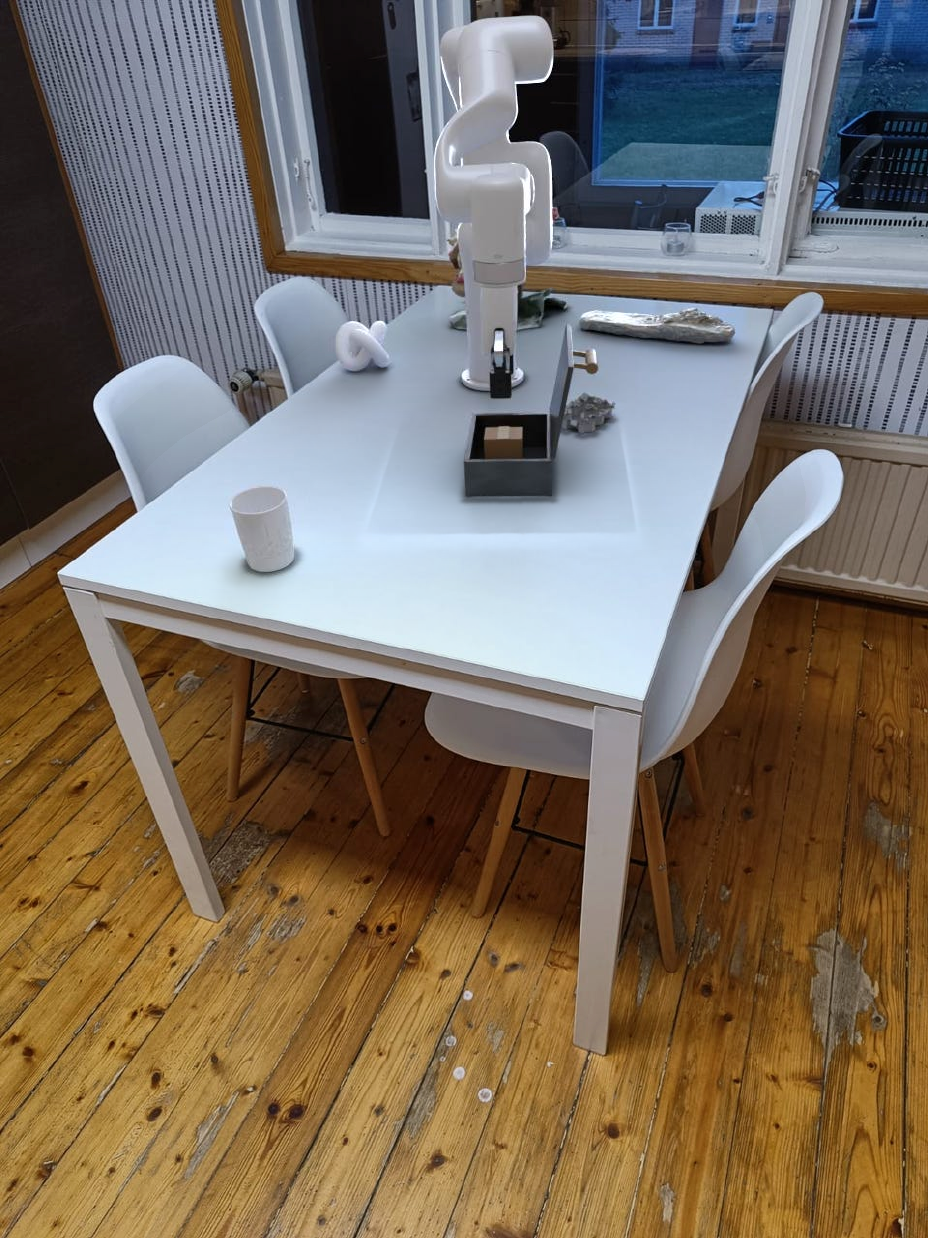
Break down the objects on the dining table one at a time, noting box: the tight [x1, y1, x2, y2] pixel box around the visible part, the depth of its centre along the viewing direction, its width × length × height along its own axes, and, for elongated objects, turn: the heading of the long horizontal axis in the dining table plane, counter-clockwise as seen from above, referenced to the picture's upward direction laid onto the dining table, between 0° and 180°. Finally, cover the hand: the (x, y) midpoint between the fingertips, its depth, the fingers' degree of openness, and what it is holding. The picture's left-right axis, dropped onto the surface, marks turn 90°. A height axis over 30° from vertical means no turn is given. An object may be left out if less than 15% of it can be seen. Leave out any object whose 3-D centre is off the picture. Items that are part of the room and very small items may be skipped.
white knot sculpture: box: [334, 320, 390, 372], centre depth 183 cm, size 11×12×9 cm
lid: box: [549, 324, 599, 459], centre depth 133 cm, size 14×18×5 cm
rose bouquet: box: [446, 206, 569, 331], centre depth 198 cm, size 26×29×30 cm
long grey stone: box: [578, 307, 736, 345], centre depth 191 cm, size 35×5×10 cm
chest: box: [463, 411, 553, 498], centre depth 140 cm, size 14×18×7 cm
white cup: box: [228, 485, 295, 573], centre depth 122 cm, size 8×8×10 cm
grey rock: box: [561, 392, 616, 434], centre depth 155 cm, size 11×8×4 cm
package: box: [484, 426, 523, 459], centre depth 140 cm, size 6×4×7 cm
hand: (502, 385), depth 133 cm, fingers open, 9 cm apart
